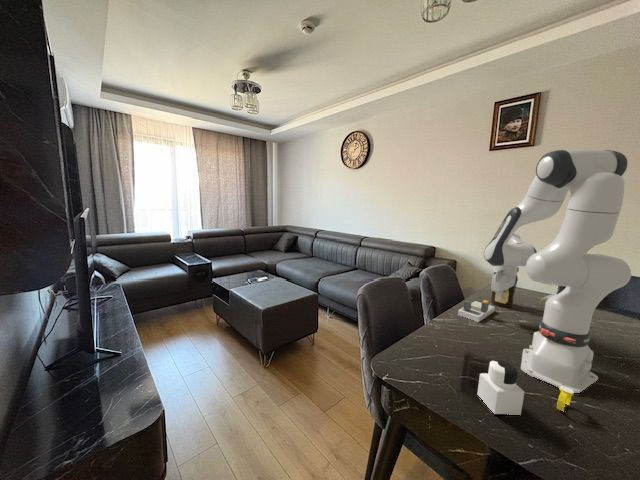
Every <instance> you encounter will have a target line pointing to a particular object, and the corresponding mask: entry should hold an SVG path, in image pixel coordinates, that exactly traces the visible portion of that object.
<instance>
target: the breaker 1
mask: <svg viewBox="0 0 640 480" xmlns="http://www.w3.org/2000/svg"><path fill="white" fill-rule="evenodd" d="M463 302H464V303H463V307H464V310H467V311H469V310H470V309H471V303H473V302H472V301H471V300H469V299H468V300H465V301H463Z"/></svg>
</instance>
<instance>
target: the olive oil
mask: <svg viewBox="0 0 640 480" xmlns="http://www.w3.org/2000/svg"><path fill="white" fill-rule="evenodd" d="M493 272H494V271H493ZM494 274H496V272H494V273H493V275H492V277H493V276H494ZM518 280H519V279H518V275H517V276H516V280H515V284H514V286H512V287H510V288H509V290H508V291H509V296H508V302H507V303H505V304H504V303H500V302H497V301H495V294H496V292H495V291H492V290H491V298H490V299H491V300H490V302H491V304H493V305H494V306H497V307H501V308H507V309H511V308H512V307H513V304H514V298H515V293H516V288H517V284H518Z"/></svg>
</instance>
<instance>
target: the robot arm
mask: <svg viewBox="0 0 640 480" xmlns="http://www.w3.org/2000/svg"><path fill="white" fill-rule="evenodd" d="M535 167H536V168H535V174H536V175H535V176H534V177H533V180H532V181H531V183H530V184H529V187H528V190H527V191H526V194H525V196H524V197H523V199H522V200H521V202H519V204H518V205H516V206H515V207H513V208H511V209H510V210H509V211H508V212H507V214H506V216H505V217H504V219H503V220H502V221H501V224H500V226H499V227H498V229H497V230H496V232H495V234H494V236H493V238H492V239H491V240H490V241H489V243H488V244H487V245H486V246H485V248H484V250H483V257H484V259H485V261H486V262H487V263H488V264H490V265H491V266H493V268H492V271H493V272H496V274H494V273H493V274H494V276H493V275H492V280H491V284H490V285H491V286H490V290H491V292H492V291H495V292H497V299H500V300H501V299H503V296H502V293H503V291H504V290H506V291H508V290H509V288H510V287H512V286H514V284H515V280H516V276H517V277H518V275H517V274H518V273H519V271H520V268H519V267H525V271H526V273H527V275H528V277H529V278H530V280H532V281H534V282H537V283H541V284H544V285H548V286H556V287H557V286H558V287H565V288H564V289H563V290H561V291H560V292H559V293H557V294H554V295H553V296H551V297H549V298H548V299H547V301H546V303H545V309H543V317H542V319H541V320H540V323H539V328H538V330H537V331H535V332H533V336H532V342H531V343H532V344H529V345H528V348H523V350H522V354H521V355H522V356H521V362H520V363H521V364H520V370H521V371H522V372H523V373H525V374H526V373H527V375H529V376H530V377H532V378H533V377H535V378H537V379H540V380H542V381H545V382H547V383H550V384H552V385H554V386H556V387H558V388H559V387H560V386H565V387H568V388H570V389H571V390H573V391H574V393H580V392H582V391H583V390H585V389H586V388H587V387H589V386H590V385H591V384H593V383H594V382H595V383H597V382H598V381H599V376H598V375H597V374H595V373H594V372H592V364H593V362H594V360H593V358H594V351H593V350H592V349H591V348H590V346H589V343H590V340H591V332H590V327H591V323H592V318H593V314H594V312H595V310H596V309H597V307H598V305H599V304H600V303H601V302H602V301H603V299H604V298H606V297H607V296H608V295H609V294H611V293H612V292H614V291H616V290H618V289H620V288H623V287H624V286H626V285H628V283H629V282H630V280H631V277H632V271H631V268H630V266H629V264H628V263H627V262H626V261H625V260H623V259H622V258H618V257H615V256H612V255H611V256H610V255H606V254H599V253H597V254H596V253H588V252H589V251H590V250H592V248H594V247H596V246H598V245H601V244H604V243H606V242H608V241H609V240H611V238H612V237H613V235H614V232H615V229H616V226H617V222H618V219H619V216H620V214H621V210H622V206H623V201H624V195H625V180H624V178H623V177H622V176H623V175H624V174H625V173H626V171H627V168H628V158H627V157H626V155H625V154H624V153H622V152H619V151H617V150H610V149H605V150H601V149H588V148H576V149H566V150H564V149H558V150H553V151H549V152H547V153H545V154H544V155H543V156H542V157H541V158H540V159H539V160H538V161H537V164H536V166H535ZM569 191H570V196H569V200H568V204H567V206H566V209H565V214H564V217H563V221H562V223H561V226H560V229H559V231H558V234H556V236H555V237H554V239H553V240H552V241H551V242H550V243H549V244H548V245H547V246H546V247H544V248H542V249H541V250H540V251H537V250H536V249H537V248H535V246H533V245H532V244H528V243H527V242H525V241H524V240H522V237H521V236H520V235H519V234H515V232H516V231H517V230H518V229H519V228H521V227H523V226H525V225H528V224H531V223H534V222H539V221H543V220H547V219H549V218H551V217H553V216H555V215H556V213H558V212H559V210H560V209H561V208H562V206H563V203H564V201H565V198H566V197H567V194H568V192H569ZM535 378H534V379H535ZM537 379H536V380H537ZM597 380H598V381H597ZM542 381H541V382H542ZM596 381H597V382H596ZM595 383H594V384H595ZM594 384H593V385H594ZM591 386H592V385H591ZM591 386H590V387H591ZM590 387H589V388H590ZM558 388H557V389H558ZM587 389H588V388H587ZM587 389H586V390H587ZM586 390H585V391H586ZM583 392H584V391H583ZM583 392H582V393H583Z"/></svg>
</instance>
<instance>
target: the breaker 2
mask: <svg viewBox="0 0 640 480" xmlns="http://www.w3.org/2000/svg"><path fill="white" fill-rule="evenodd" d="M489 301H490V300H487V299H484V300H482V302H481V303H482V305H481V311H484V312H486V311H488V306H489V305H490V303H489Z"/></svg>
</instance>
